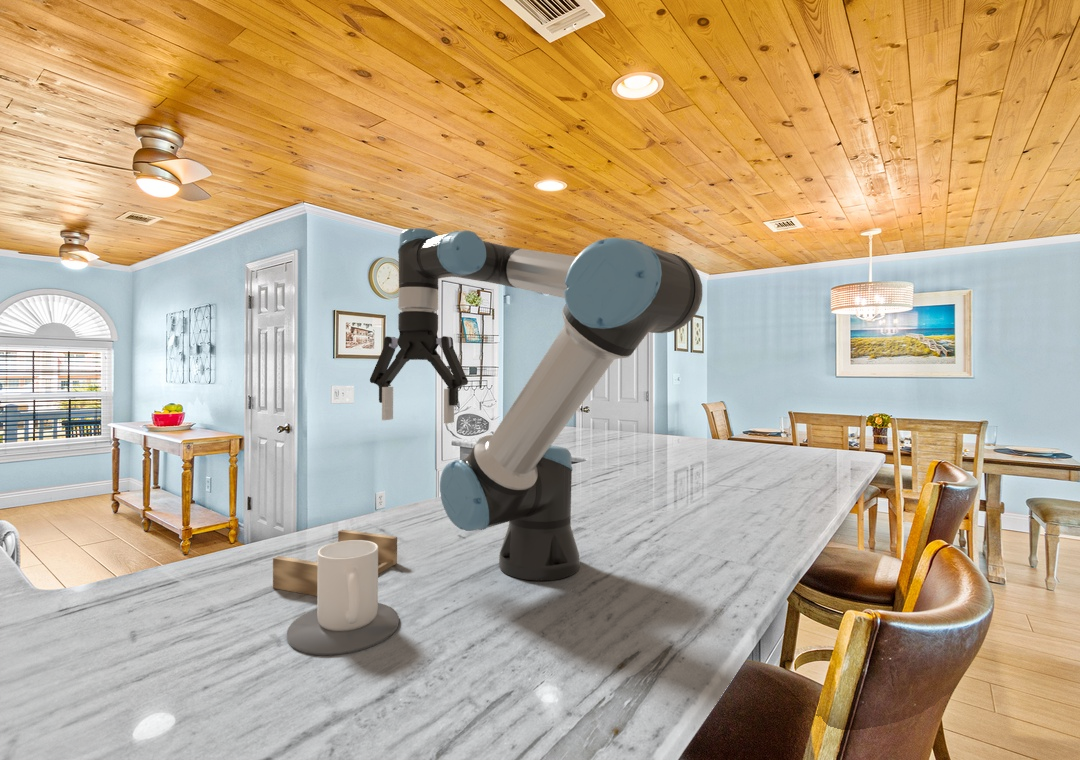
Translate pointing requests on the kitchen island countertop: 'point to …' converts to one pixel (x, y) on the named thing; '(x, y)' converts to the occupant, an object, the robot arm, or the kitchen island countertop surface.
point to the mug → (347, 585)
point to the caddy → (305, 573)
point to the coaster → (340, 634)
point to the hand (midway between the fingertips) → (417, 421)
